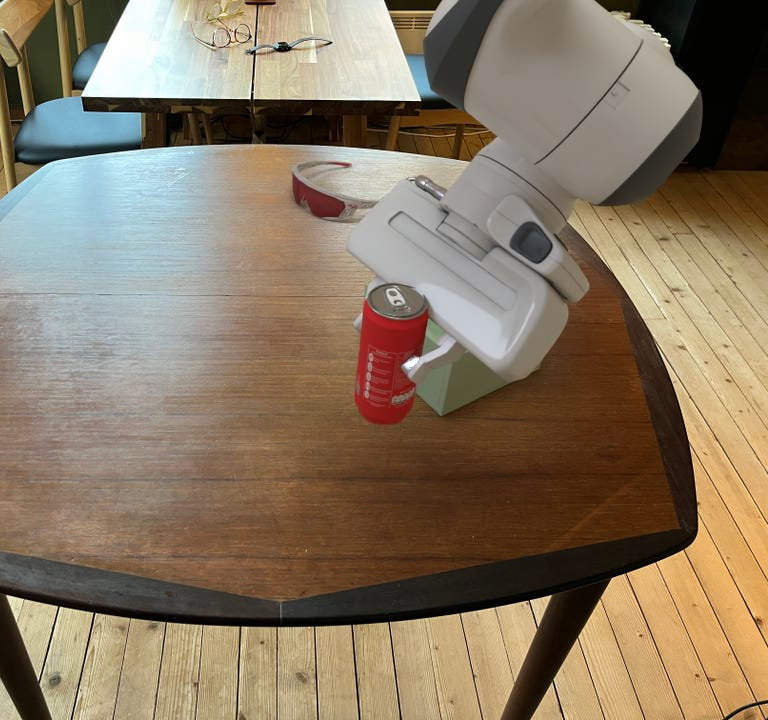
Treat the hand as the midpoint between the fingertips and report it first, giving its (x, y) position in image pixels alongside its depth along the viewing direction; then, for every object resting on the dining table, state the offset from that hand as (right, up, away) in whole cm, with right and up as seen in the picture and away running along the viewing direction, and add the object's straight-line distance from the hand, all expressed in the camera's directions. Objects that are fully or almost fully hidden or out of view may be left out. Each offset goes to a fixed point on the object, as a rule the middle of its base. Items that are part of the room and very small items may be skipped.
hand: (384, 355), depth 61 cm
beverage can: (0, -5, +5) cm, 7 cm away
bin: (+12, 0, +30) cm, 32 cm away
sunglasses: (+1, +26, +60) cm, 65 cm away
